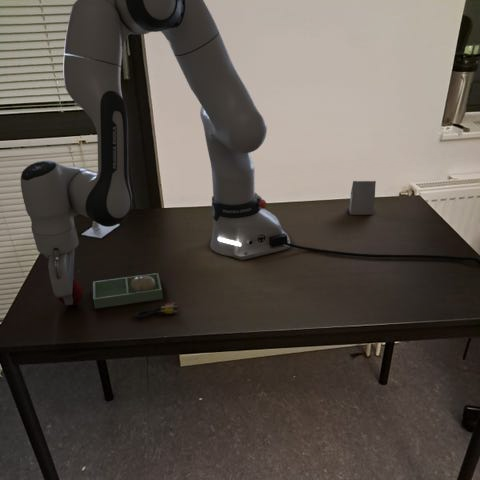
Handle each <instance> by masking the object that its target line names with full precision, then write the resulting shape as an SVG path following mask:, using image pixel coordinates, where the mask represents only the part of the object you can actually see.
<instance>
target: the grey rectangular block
mask: <svg viewBox="0 0 480 480" xmlns="http://www.w3.org/2000/svg"><path fill="white" fill-rule="evenodd" d="M376 181H377V180H353V181H352V184H351V191H350V198H349V207H348V211H349V214H350V215H352V216H353V215H357V216H359V215H360V216H361V215H363V216H364V215H365V216H366V215H369V216H372V215H373V214H374V207H375V200H376V184H377V183H376Z"/></svg>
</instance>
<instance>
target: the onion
mask: <svg viewBox="0 0 480 480" xmlns="http://www.w3.org/2000/svg"><path fill="white" fill-rule="evenodd" d="M83 295H84V288H83V286H82V285H81V284H80V283H79V282H78V281H77V280H76V279H75V278H74V279H73V290H72V296H73V304H72V305H70V306H72V307H73V306H76V305H77V303H79V302H80V301H81V300H82V298H83ZM57 299H58V300H59V302H61V304H64V305H65V302H64V299H63V298H57Z"/></svg>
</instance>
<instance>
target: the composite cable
mask: <svg viewBox="0 0 480 480" xmlns="http://www.w3.org/2000/svg"><path fill="white" fill-rule="evenodd" d="M177 304H178V302H172V301H171V302H167V303H164V304H162V305H160V306H158V307H156V308H153V309H147V310H142V311H138V312H137V313H136V314H135V315H134V316H135V319H137V320H142V319H146V318H147V317H149V316H152V315H159V316H160V315H163V316H164V315H172V314H177V313H178V310H175V309H176V308H179V305H177Z"/></svg>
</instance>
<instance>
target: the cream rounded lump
mask: <svg viewBox="0 0 480 480" xmlns="http://www.w3.org/2000/svg"><path fill="white" fill-rule="evenodd" d="M138 276H139V275H138ZM155 287H156V282H155V280H154V278H152V277H151V276H139V277H136V278H134V279H133V280H132V281H131V289H132V291H133V292H142V291H149V290H154V289H155Z"/></svg>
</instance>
